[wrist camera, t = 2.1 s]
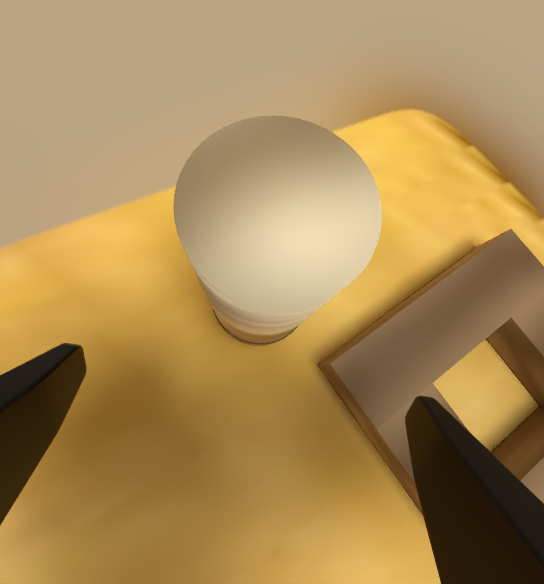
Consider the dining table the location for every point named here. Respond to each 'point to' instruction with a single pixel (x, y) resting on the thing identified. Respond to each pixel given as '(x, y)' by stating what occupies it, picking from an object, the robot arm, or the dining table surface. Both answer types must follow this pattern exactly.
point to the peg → (275, 222)
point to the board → (451, 353)
